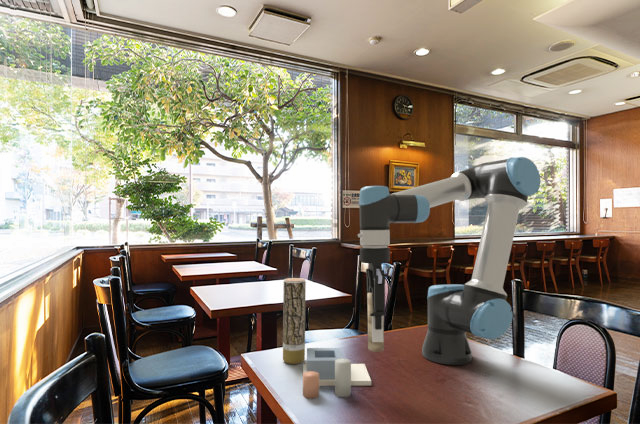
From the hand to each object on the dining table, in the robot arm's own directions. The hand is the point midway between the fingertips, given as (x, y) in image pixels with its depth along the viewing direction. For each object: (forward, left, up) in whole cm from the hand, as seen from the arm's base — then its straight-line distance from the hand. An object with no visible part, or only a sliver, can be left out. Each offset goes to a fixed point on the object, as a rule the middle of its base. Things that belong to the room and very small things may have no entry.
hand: (376, 338), depth 96 cm
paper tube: (+21, -22, -14) cm, 33 cm away
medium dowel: (+8, +1, -13) cm, 16 cm away
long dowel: (0, 0, -3) cm, 3 cm away
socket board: (+9, -10, -13) cm, 19 cm away
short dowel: (+16, +1, -14) cm, 21 cm away
